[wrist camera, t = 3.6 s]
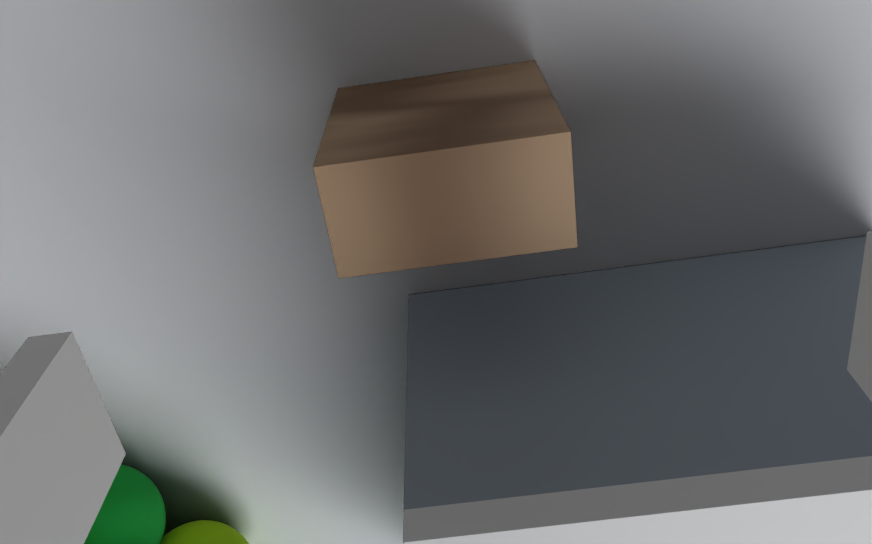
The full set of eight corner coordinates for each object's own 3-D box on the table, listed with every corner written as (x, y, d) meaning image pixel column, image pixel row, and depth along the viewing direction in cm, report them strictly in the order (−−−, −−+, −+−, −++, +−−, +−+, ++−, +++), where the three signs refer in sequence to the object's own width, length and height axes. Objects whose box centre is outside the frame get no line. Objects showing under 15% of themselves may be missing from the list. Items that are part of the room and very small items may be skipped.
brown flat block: (356, 179, 26) (338, 278, 20) (338, 88, 24) (312, 167, 18) (542, 153, 25) (577, 247, 20) (534, 60, 24) (570, 131, 18)
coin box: (458, 569, 34) (473, 855, 25) (408, 294, 28) (403, 542, 18) (833, 528, 34) (999, 807, 24) (876, 234, 27) (1131, 460, 17)
